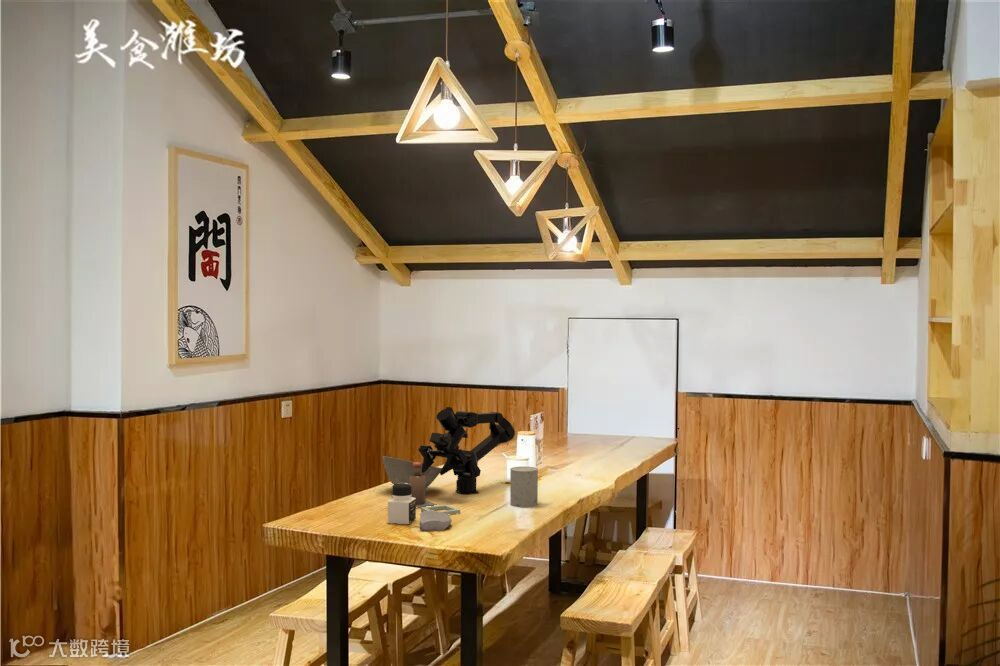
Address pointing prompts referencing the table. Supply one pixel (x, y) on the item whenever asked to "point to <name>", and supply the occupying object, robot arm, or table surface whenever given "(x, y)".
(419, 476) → the sauce bottle
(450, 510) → the pocket frame
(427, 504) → the slate pad
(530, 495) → the grey matte cylinder
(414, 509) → the medicine bottle
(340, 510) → the table surface
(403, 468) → the ceramic bowl
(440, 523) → the stone block
